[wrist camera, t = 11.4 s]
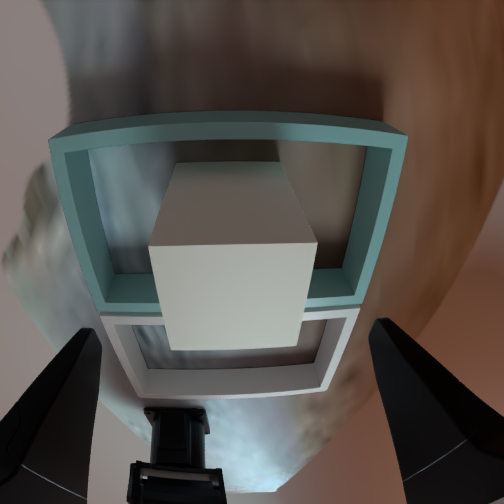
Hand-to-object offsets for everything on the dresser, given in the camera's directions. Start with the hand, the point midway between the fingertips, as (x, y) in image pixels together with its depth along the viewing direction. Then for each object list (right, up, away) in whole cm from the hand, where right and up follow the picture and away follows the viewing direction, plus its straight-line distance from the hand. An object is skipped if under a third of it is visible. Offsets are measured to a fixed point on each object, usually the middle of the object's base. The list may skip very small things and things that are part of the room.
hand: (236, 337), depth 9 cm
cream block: (-1, +5, +7) cm, 9 cm away
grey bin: (-1, -4, +13) cm, 13 cm away
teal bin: (-1, +5, +7) cm, 8 cm away
